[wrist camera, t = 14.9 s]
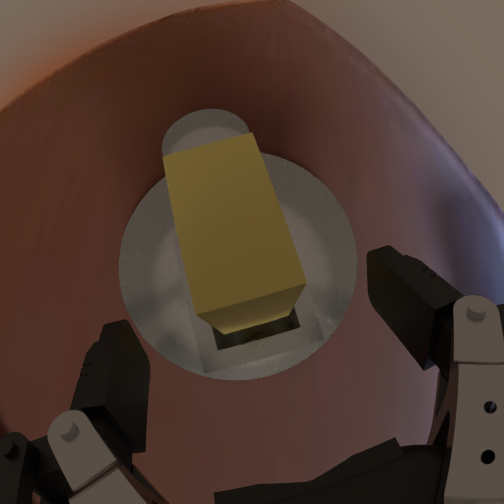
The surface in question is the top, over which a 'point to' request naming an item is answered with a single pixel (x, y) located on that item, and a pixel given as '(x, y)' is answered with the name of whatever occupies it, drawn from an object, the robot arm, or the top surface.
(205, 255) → the yellow block
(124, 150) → the top surface
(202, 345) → the round grey holder stand
